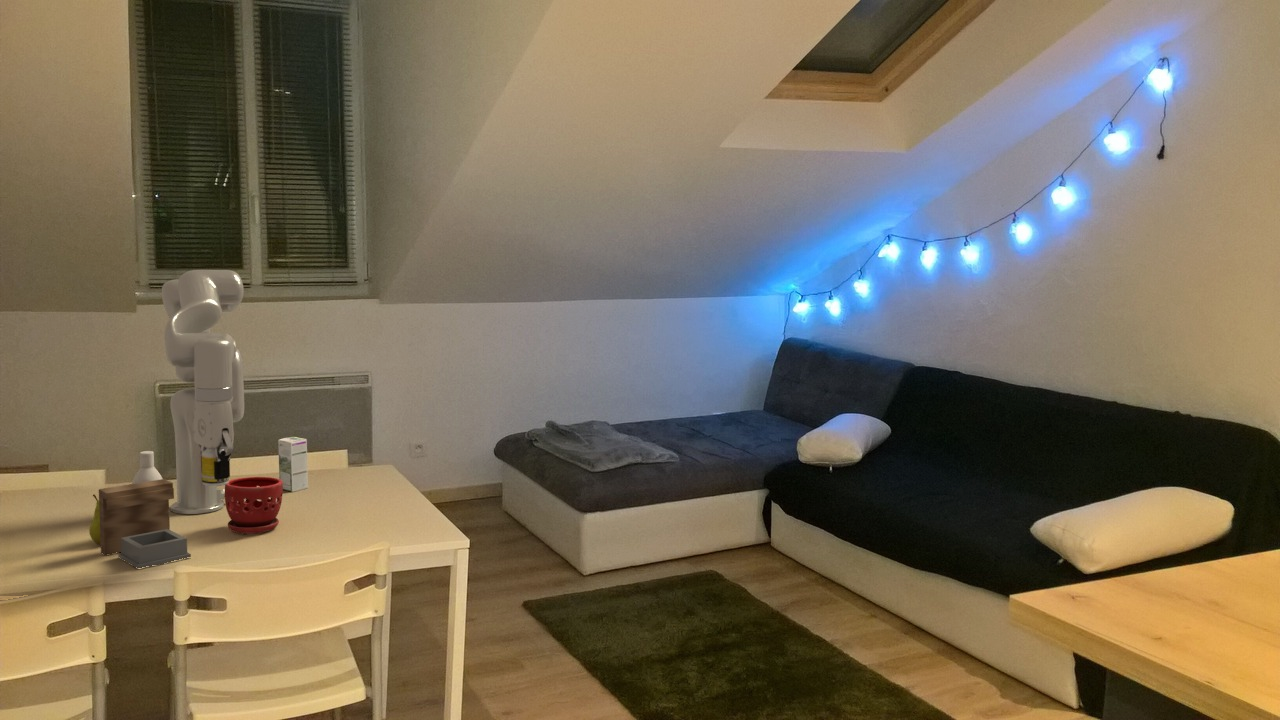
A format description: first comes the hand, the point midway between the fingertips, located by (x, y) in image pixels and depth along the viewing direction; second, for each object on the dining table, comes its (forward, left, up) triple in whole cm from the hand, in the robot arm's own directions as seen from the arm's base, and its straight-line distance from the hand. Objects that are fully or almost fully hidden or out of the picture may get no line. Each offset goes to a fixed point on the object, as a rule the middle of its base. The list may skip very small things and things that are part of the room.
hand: (215, 474), depth 214 cm
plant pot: (-16, -14, -19) cm, 28 cm away
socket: (+10, -8, -19) cm, 23 cm away
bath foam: (+4, -26, -19) cm, 33 cm away
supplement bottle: (0, 0, -2) cm, 2 cm away
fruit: (+14, -26, -19) cm, 35 cm away
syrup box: (-42, -43, -19) cm, 63 cm away
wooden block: (+10, -17, -19) cm, 27 cm away
